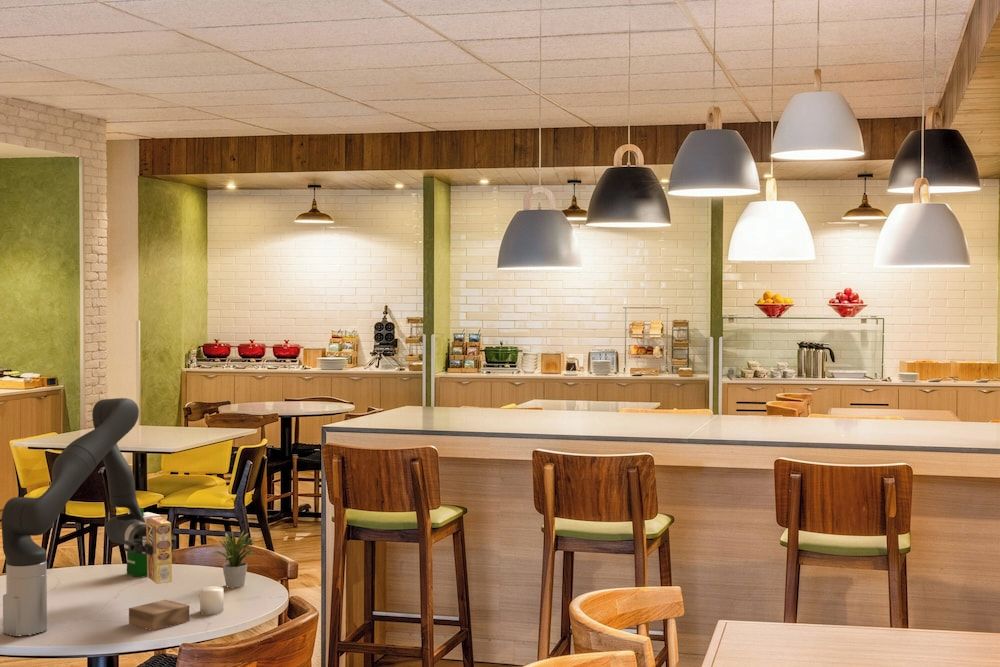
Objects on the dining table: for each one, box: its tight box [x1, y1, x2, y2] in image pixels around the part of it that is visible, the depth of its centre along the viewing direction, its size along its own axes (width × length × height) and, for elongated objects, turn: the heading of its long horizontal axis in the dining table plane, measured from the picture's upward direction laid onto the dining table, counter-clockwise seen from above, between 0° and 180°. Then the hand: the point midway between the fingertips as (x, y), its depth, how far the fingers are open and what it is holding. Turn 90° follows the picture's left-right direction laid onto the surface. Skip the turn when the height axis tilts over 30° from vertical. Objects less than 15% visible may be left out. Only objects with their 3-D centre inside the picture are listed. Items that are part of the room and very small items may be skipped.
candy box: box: [146, 517, 173, 585], centre depth 288 cm, size 9×4×15 cm, turn 33°
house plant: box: [212, 529, 263, 588], centre depth 326 cm, size 14×14×16 cm
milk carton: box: [126, 507, 162, 578], centre depth 342 cm, size 9×9×20 cm
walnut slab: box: [128, 599, 190, 631], centre depth 288 cm, size 11×10×4 cm
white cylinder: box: [199, 585, 225, 615], centre depth 299 cm, size 6×6×6 cm
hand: (161, 550), depth 287 cm, fingers closed on candy box, 4 cm apart
